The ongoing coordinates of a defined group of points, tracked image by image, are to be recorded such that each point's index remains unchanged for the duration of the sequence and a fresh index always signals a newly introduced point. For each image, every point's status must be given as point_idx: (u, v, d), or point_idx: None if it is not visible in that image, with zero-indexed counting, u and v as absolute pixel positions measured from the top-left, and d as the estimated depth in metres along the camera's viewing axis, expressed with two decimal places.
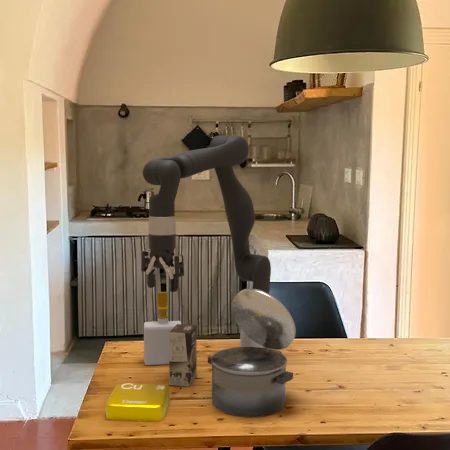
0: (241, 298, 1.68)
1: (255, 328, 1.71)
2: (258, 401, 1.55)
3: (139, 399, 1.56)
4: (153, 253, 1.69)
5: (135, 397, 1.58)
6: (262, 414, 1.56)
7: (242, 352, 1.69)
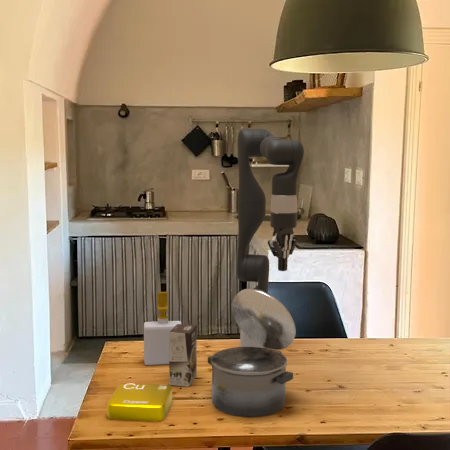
0: (241, 298, 1.68)
1: (255, 328, 1.71)
2: (258, 401, 1.55)
3: (140, 399, 1.56)
4: (281, 231, 1.70)
5: (137, 397, 1.58)
6: (262, 414, 1.56)
7: (242, 352, 1.69)
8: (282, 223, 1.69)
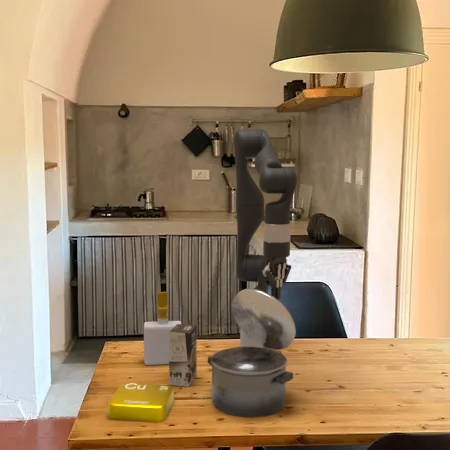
0: (241, 298, 1.68)
1: (255, 328, 1.71)
2: (258, 401, 1.55)
3: (142, 399, 1.56)
4: (274, 261, 1.68)
5: (138, 397, 1.58)
6: (262, 414, 1.56)
7: (242, 352, 1.69)
8: (275, 252, 1.67)
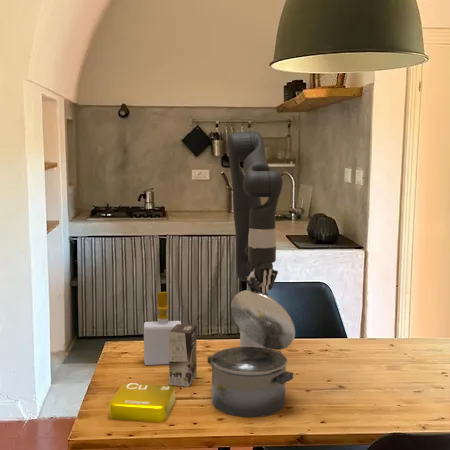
0: (240, 299, 1.67)
1: (255, 329, 1.71)
2: (258, 401, 1.55)
3: (142, 399, 1.56)
4: (259, 267, 1.62)
5: (139, 397, 1.58)
6: (262, 414, 1.56)
7: (242, 352, 1.69)
8: (260, 258, 1.61)
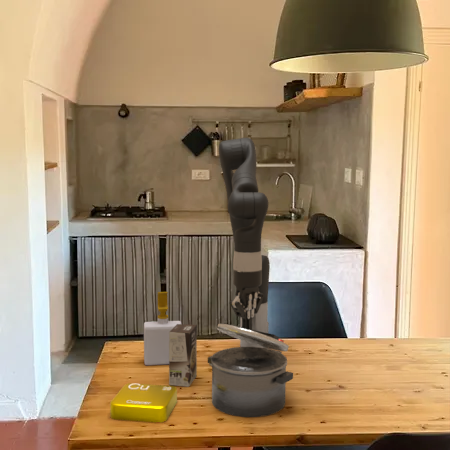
0: (224, 329, 1.62)
1: (249, 340, 1.69)
2: (258, 401, 1.55)
3: (144, 399, 1.56)
4: (244, 291, 1.58)
5: (140, 397, 1.57)
6: (262, 414, 1.56)
7: (242, 352, 1.69)
8: (245, 282, 1.57)
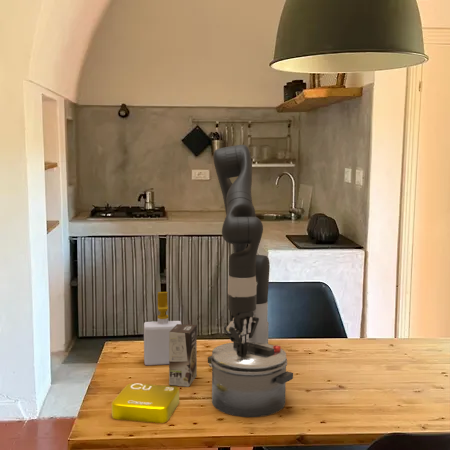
0: None
1: None
2: (258, 401, 1.55)
3: (145, 400, 1.56)
4: (238, 316, 1.57)
5: (142, 398, 1.57)
6: (262, 414, 1.56)
7: None
8: (240, 307, 1.56)
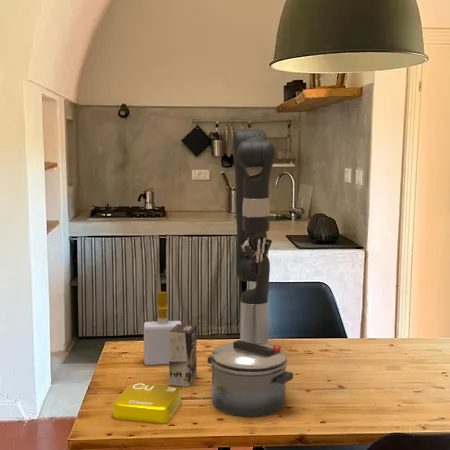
0: None
1: None
2: (258, 401, 1.55)
3: (146, 400, 1.56)
4: (253, 236, 1.66)
5: (143, 398, 1.57)
6: (262, 414, 1.56)
7: None
8: (254, 227, 1.65)
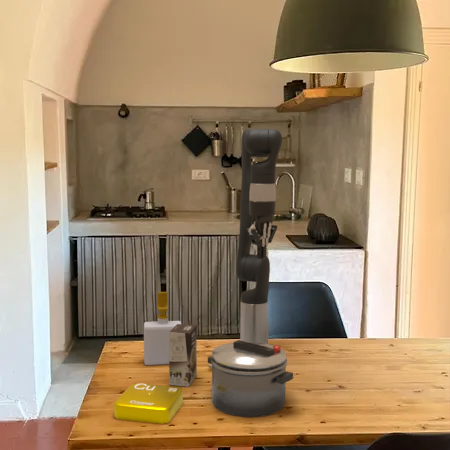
0: None
1: None
2: (258, 401, 1.55)
3: (147, 400, 1.56)
4: (259, 220, 1.71)
5: (144, 398, 1.57)
6: (262, 414, 1.56)
7: None
8: (260, 211, 1.70)
